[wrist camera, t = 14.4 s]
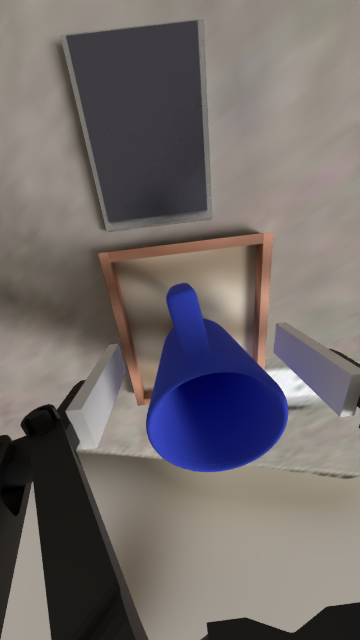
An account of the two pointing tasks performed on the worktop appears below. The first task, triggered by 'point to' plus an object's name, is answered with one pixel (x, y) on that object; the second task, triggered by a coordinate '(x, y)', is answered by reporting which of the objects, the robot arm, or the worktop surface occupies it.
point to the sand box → (211, 289)
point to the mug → (210, 395)
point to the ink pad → (145, 121)
